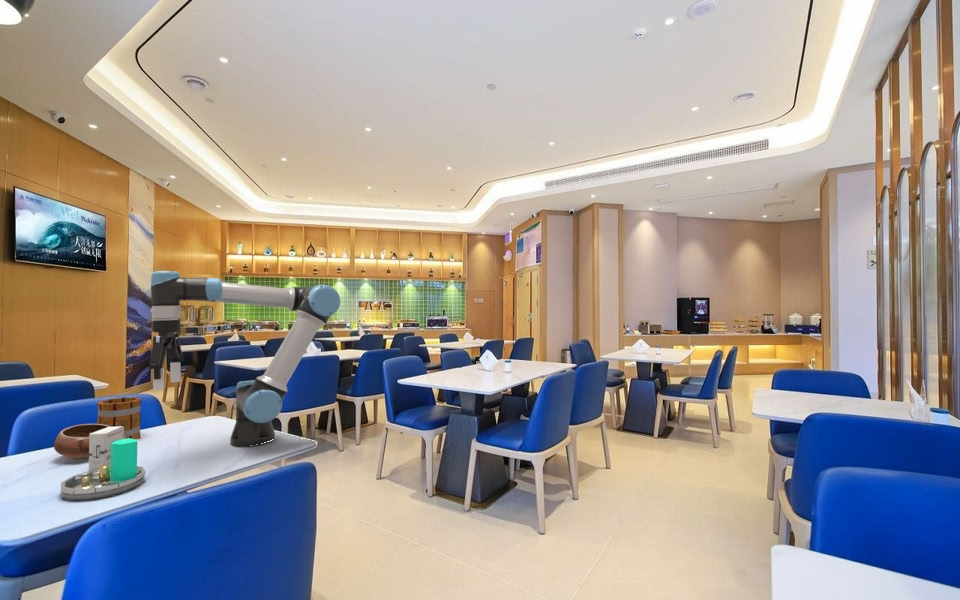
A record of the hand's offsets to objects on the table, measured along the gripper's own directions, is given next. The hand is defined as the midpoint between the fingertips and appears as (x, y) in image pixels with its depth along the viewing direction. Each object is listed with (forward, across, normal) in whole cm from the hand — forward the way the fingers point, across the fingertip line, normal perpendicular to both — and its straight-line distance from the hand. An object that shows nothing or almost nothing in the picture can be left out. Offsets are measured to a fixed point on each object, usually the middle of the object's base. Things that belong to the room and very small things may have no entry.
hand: (167, 385), depth 145 cm
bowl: (+25, -16, -30) cm, 42 cm away
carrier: (+25, +16, -10) cm, 31 cm away
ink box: (+25, -4, -19) cm, 32 cm away
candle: (+23, +16, -6) cm, 29 cm away
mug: (+25, -38, -29) cm, 54 cm away
